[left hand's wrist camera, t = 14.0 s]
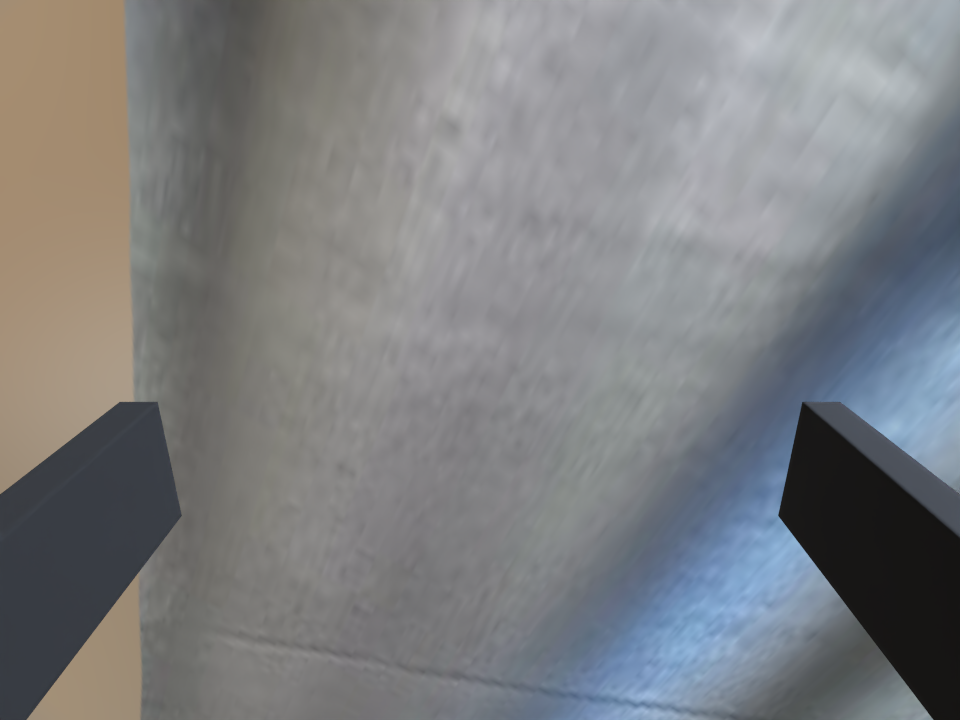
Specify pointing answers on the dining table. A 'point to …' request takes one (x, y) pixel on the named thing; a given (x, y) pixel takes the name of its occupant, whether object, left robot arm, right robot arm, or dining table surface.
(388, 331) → the dining table surface
